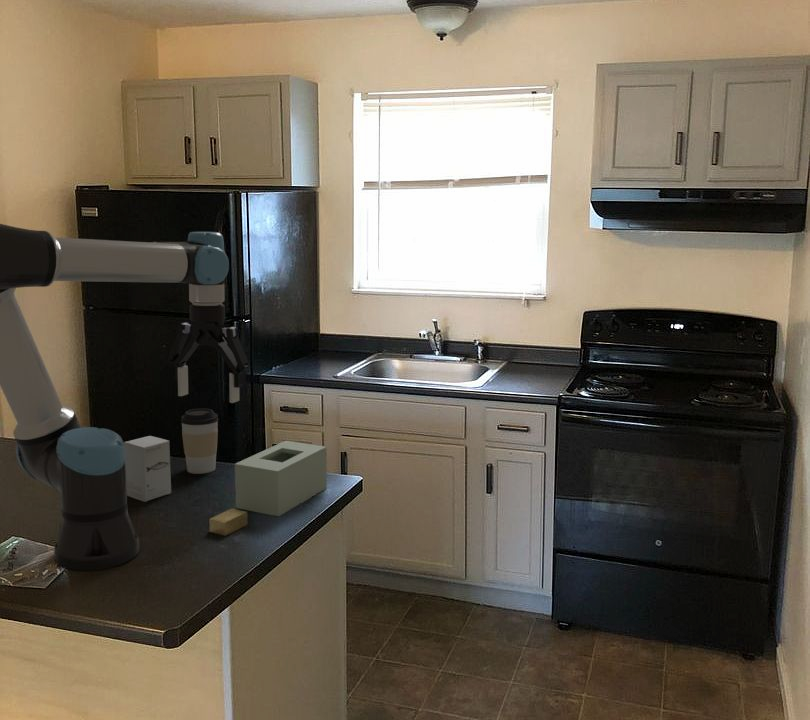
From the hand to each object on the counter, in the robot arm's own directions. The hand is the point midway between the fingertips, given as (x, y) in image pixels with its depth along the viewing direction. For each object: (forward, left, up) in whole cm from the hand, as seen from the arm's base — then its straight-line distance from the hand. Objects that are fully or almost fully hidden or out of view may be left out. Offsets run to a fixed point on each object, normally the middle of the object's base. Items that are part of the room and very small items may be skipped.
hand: (208, 398), depth 196 cm
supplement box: (-7, +12, -22) cm, 26 cm away
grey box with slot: (+5, -16, -22) cm, 28 cm away
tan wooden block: (-15, -16, -23) cm, 31 cm away
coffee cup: (+13, +13, -22) cm, 29 cm away
